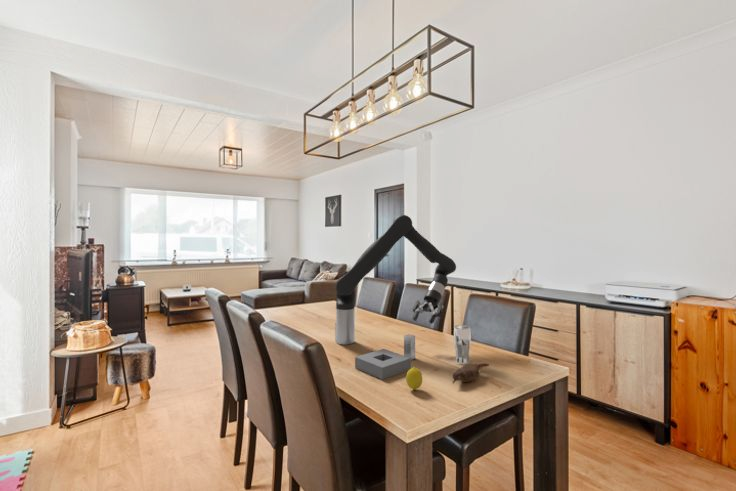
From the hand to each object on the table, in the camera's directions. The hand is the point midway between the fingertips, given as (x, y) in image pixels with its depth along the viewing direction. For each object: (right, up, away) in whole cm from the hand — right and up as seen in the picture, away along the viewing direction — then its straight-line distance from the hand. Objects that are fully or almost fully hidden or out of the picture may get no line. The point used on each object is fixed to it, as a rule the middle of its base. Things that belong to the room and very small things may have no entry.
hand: (422, 321), depth 164 cm
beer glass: (+15, -15, -13) cm, 25 cm away
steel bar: (-7, -15, -8) cm, 18 cm away
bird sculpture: (+13, -15, -31) cm, 37 cm away
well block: (-19, -15, -20) cm, 31 cm away
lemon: (-9, -15, -40) cm, 44 cm away
